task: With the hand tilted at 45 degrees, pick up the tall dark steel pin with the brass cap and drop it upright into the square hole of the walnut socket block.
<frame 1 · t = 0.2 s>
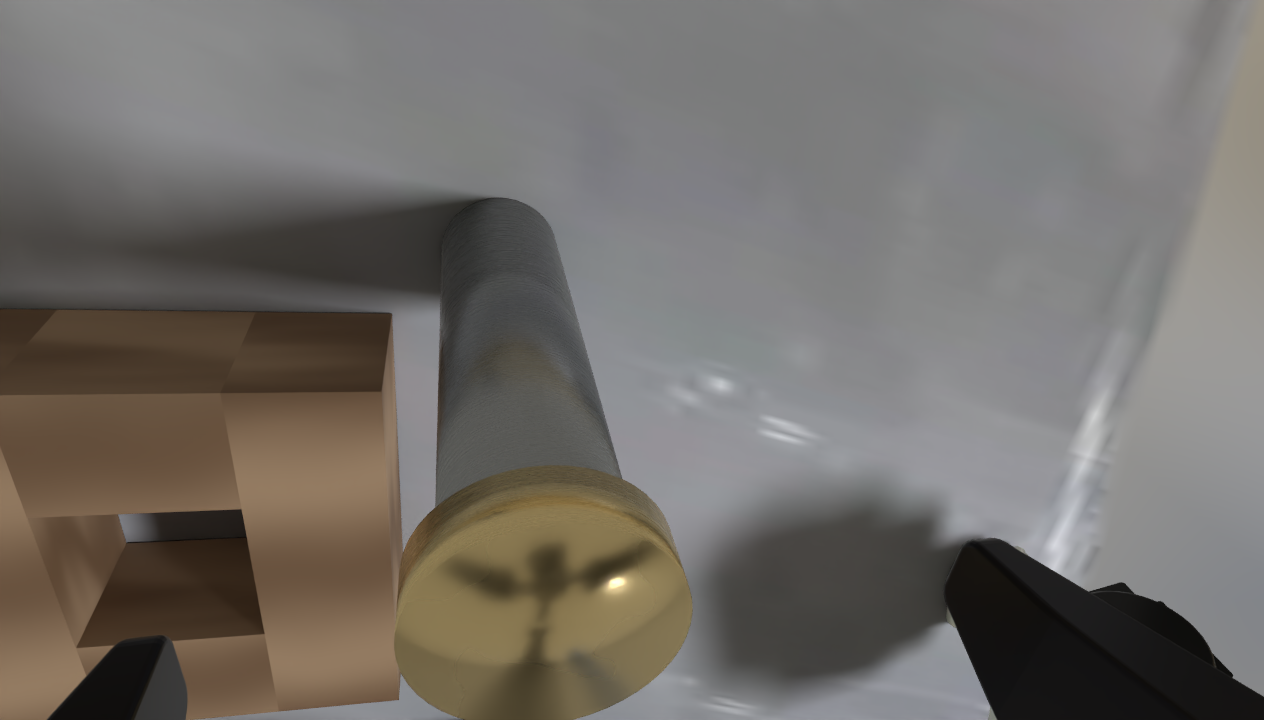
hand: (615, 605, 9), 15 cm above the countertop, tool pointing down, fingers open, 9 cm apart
steel pin: (500, 252, 22), on the countertop
socket block: (196, 482, 24), on the countertop
pneumatic valve: (986, 574, 35), on the countertop
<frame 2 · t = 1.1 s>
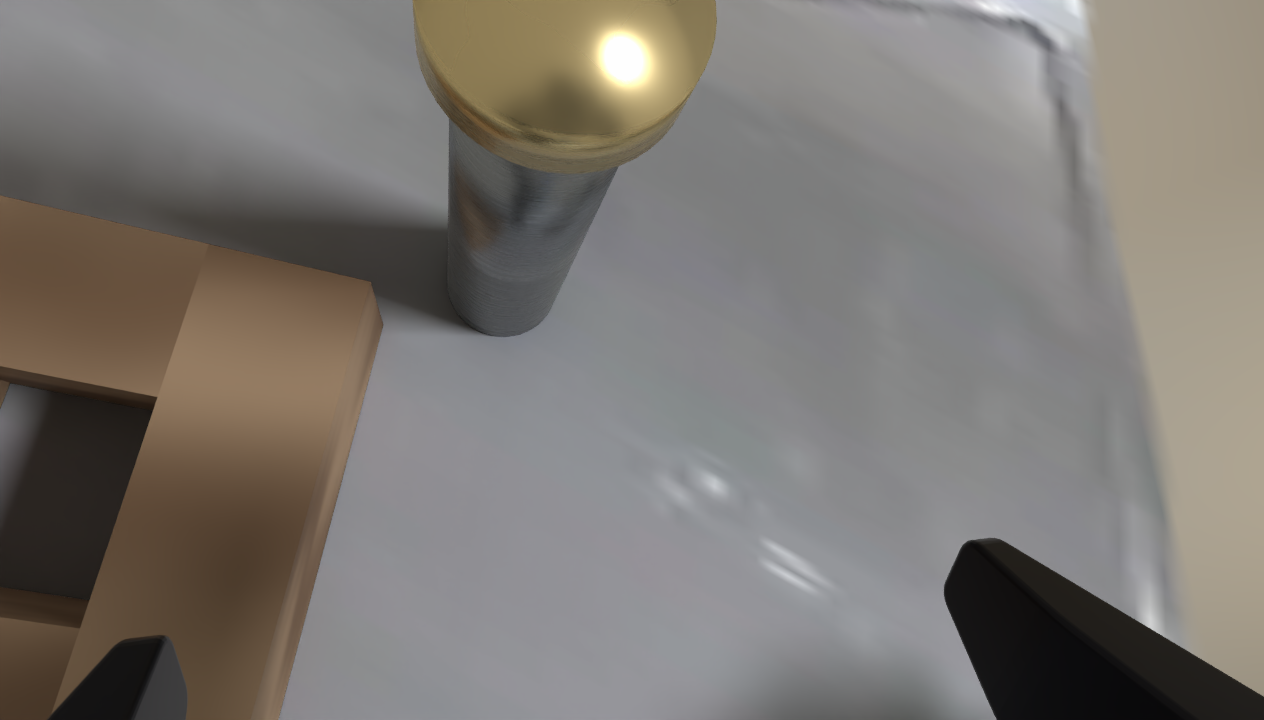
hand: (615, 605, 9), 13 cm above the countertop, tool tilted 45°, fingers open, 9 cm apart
steel pin: (502, 284, 23), on the countertop
socket block: (80, 495, 19), on the countertop
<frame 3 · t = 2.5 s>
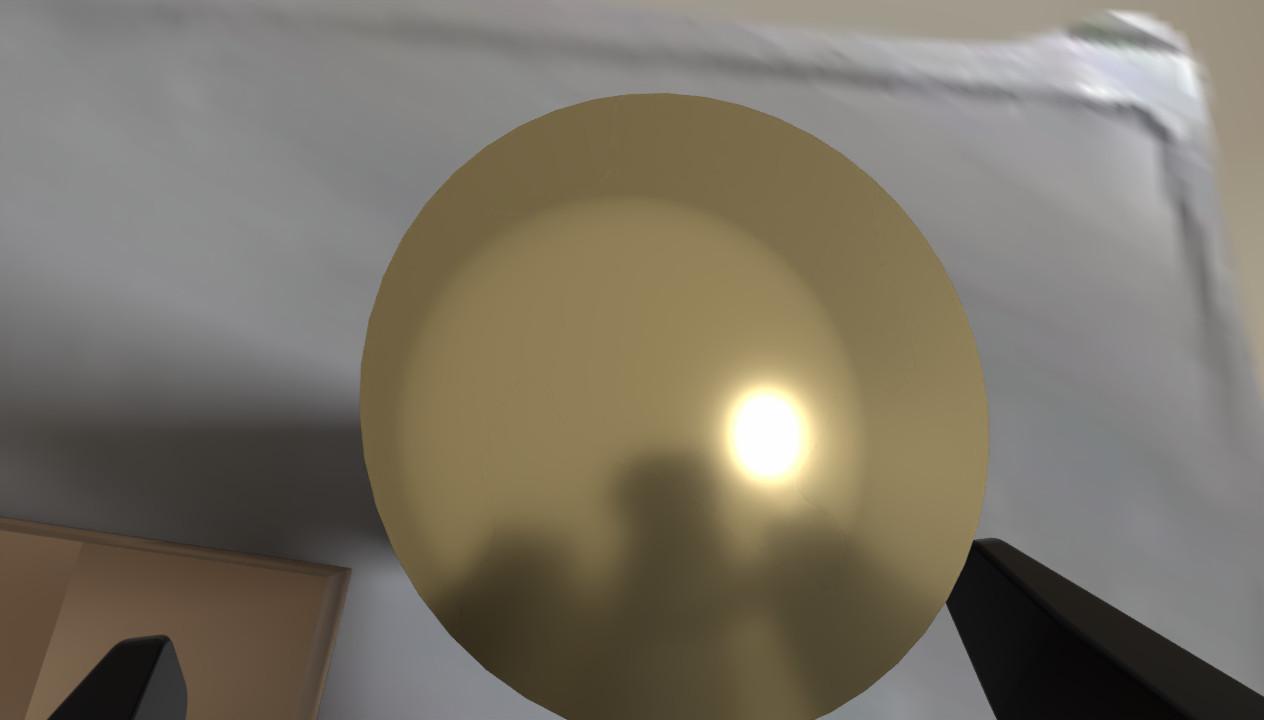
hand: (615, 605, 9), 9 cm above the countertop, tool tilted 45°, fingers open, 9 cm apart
steel pin: (511, 497, 17), on the countertop
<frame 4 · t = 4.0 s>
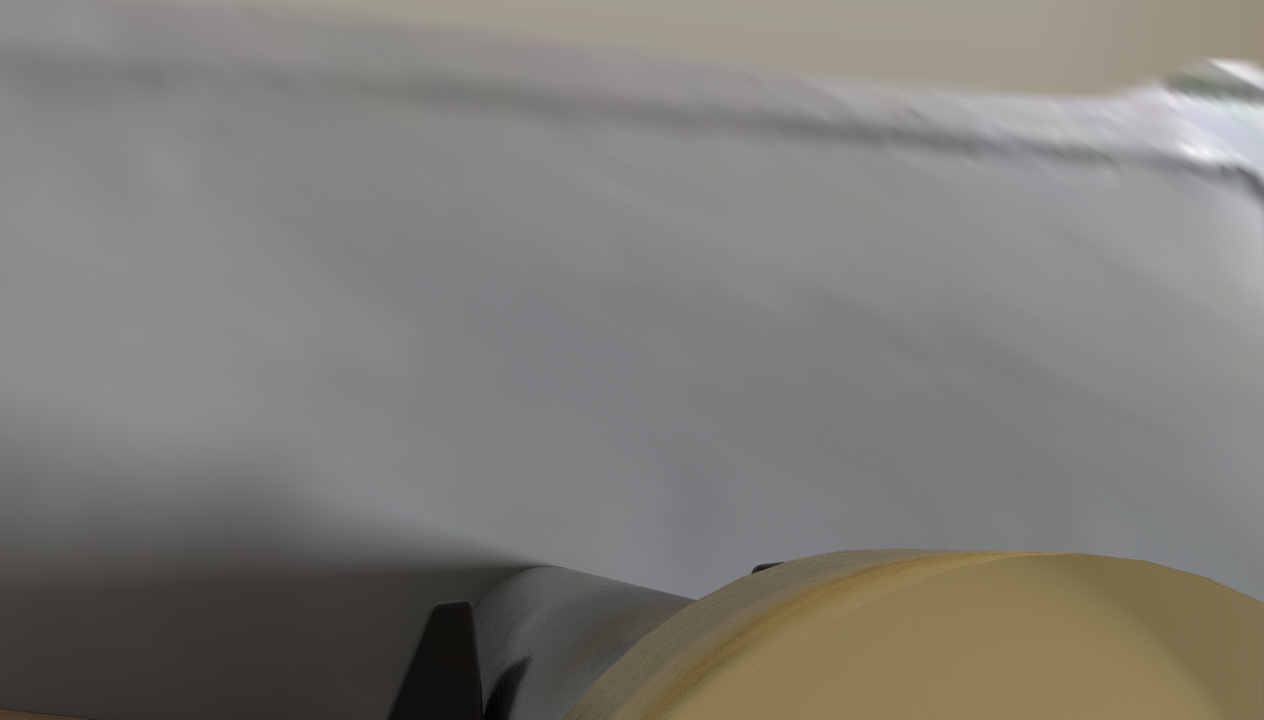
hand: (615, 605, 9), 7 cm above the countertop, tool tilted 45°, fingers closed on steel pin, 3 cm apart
steel pin: (545, 653, 15), on the countertop, touching gripper
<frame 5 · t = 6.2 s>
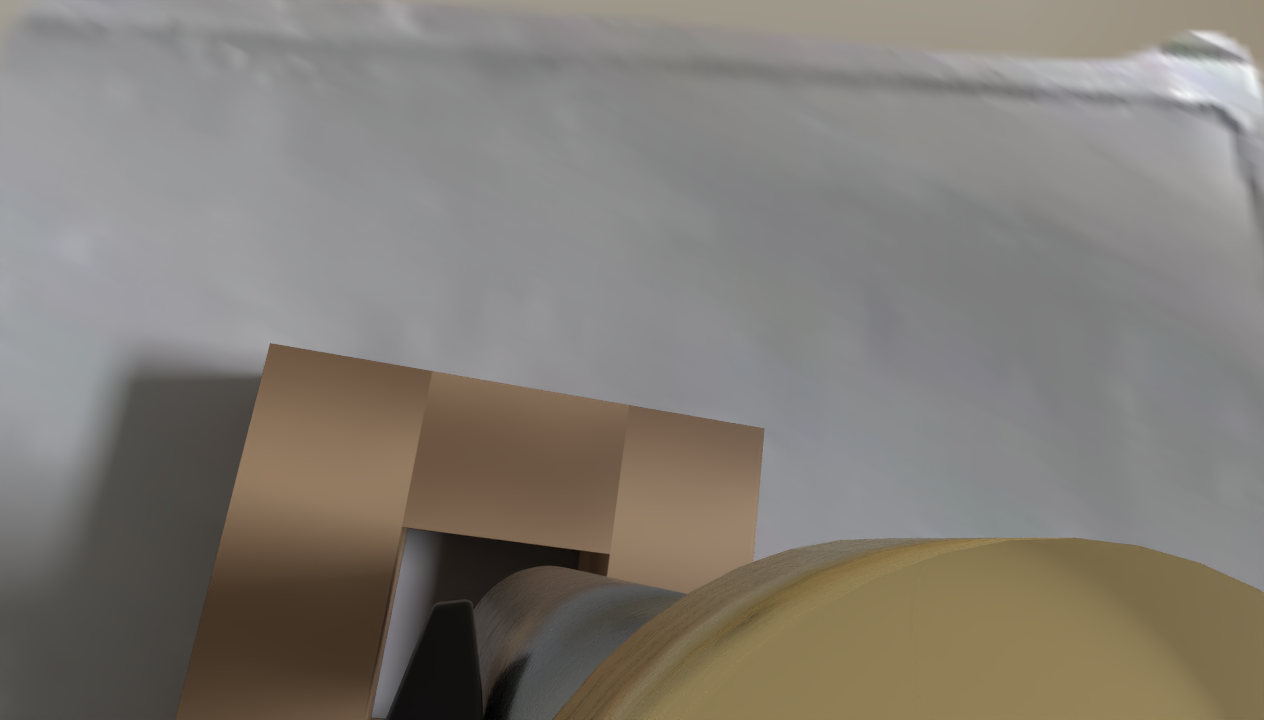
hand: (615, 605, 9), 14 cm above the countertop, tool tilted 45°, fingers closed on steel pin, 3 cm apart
steel pin: (545, 652, 15), point 7 cm above the countertop, touching gripper
socket block: (481, 630, 21), on the countertop
when the fingers open (8 cm above the countertop, at t = 8.2 s): steel pin drops 1 cm, resting in socket block.
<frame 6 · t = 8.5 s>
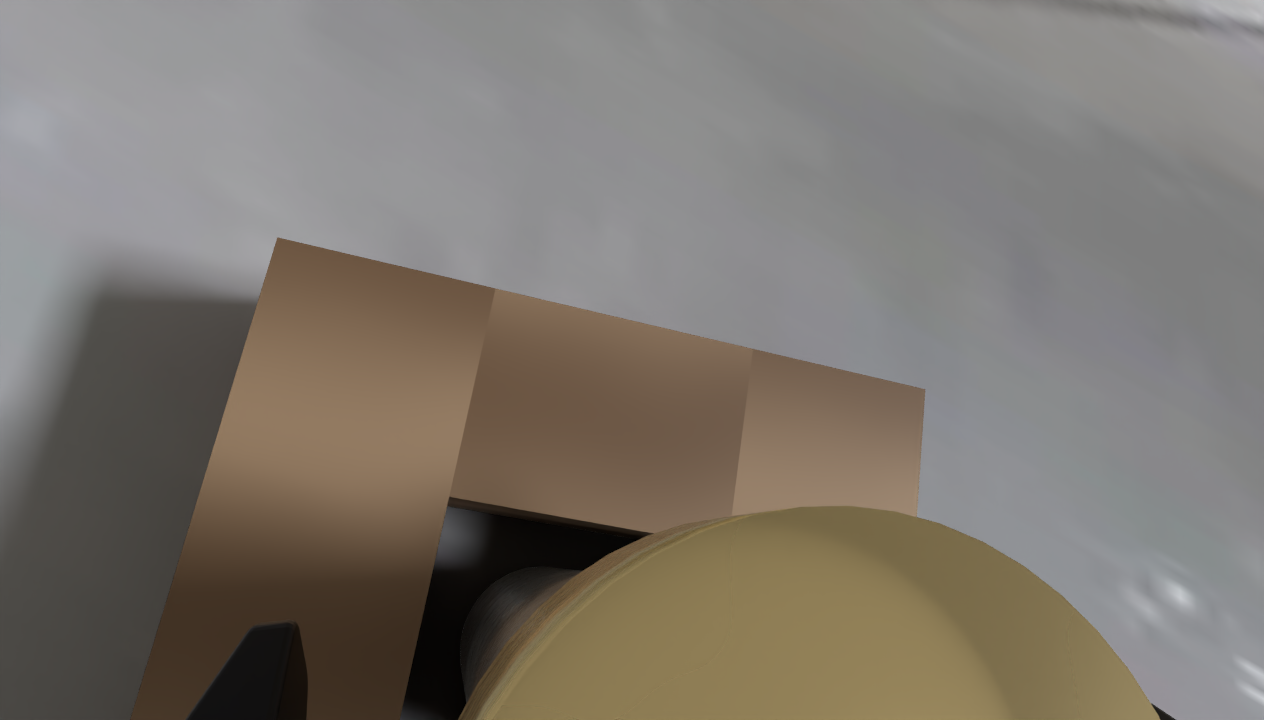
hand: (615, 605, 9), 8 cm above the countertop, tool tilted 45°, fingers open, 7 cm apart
steel pin: (538, 646, 16), resting in socket block
socket block: (536, 642, 16), on the countertop
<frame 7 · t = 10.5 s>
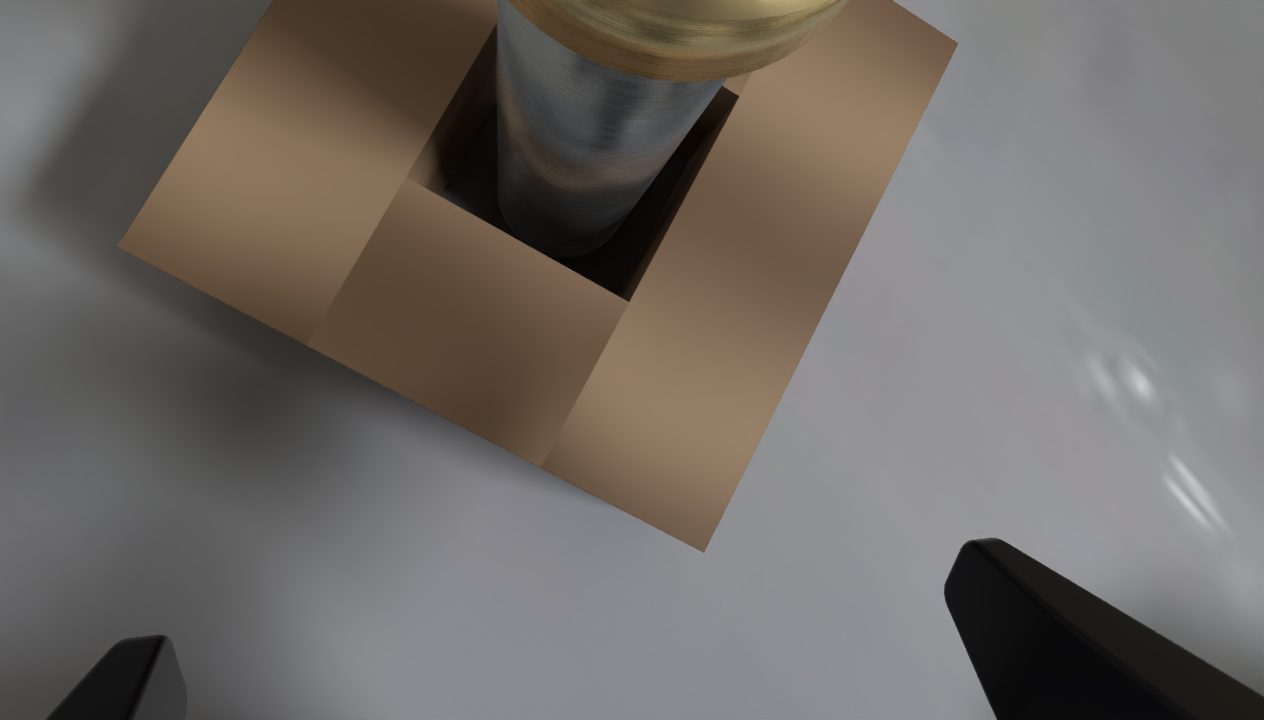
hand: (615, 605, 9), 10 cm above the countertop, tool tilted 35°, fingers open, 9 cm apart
steel pin: (563, 193, 19), resting in socket block
socket block: (562, 189, 19), on the countertop
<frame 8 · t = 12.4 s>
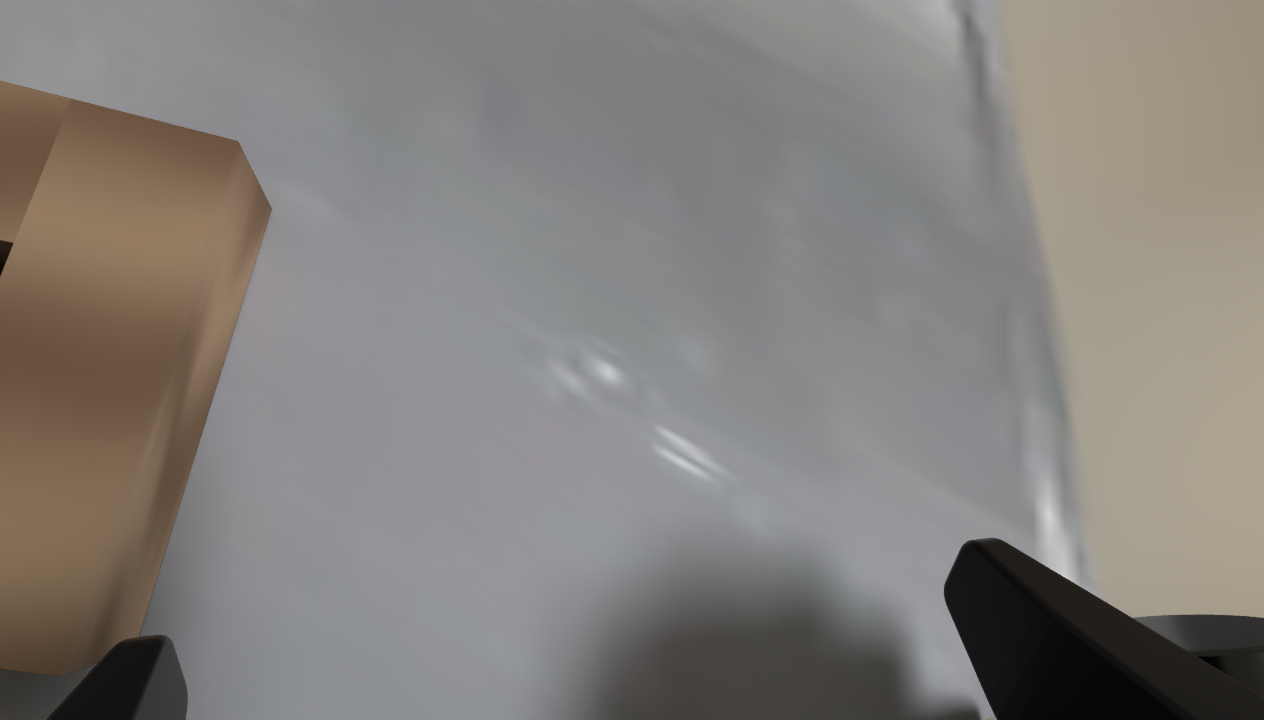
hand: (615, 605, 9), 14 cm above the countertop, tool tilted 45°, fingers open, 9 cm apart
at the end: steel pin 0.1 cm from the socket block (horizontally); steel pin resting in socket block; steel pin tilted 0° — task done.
